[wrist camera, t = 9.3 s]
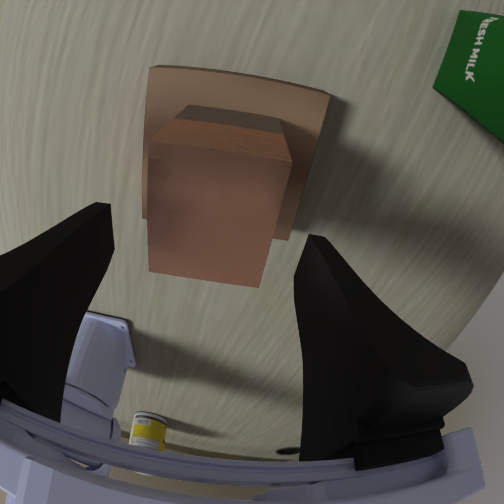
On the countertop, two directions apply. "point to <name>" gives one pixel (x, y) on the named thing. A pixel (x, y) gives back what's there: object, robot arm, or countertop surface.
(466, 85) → the milk carton
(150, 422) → the supplement bottle
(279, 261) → the countertop surface
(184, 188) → the block
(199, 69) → the walnut stand
